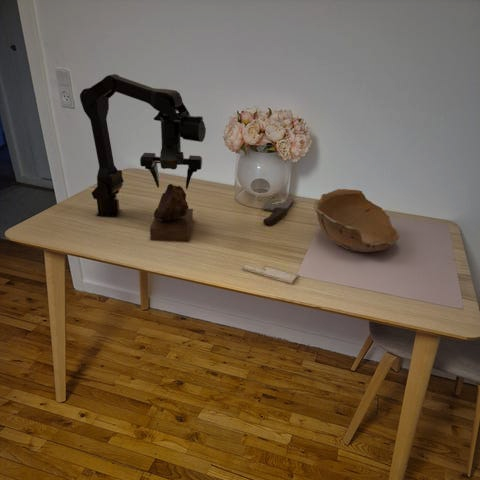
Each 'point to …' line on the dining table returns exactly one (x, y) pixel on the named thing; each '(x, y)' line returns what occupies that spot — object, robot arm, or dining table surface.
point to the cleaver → (276, 210)
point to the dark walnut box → (172, 228)
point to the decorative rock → (172, 204)
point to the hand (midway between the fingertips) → (172, 188)
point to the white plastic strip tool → (273, 273)
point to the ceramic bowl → (354, 221)
